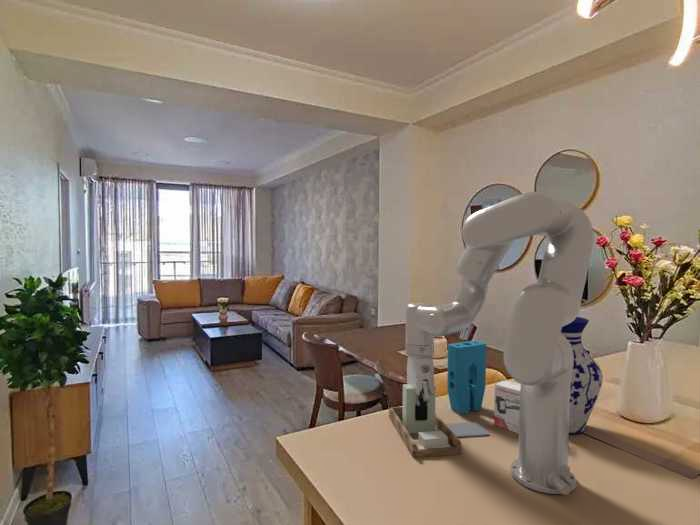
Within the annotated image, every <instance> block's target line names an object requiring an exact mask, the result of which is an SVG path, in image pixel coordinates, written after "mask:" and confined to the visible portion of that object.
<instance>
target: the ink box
mask: <svg viewBox="0 0 700 525" xmlns="http://www.w3.org/2000/svg"><path fill="white" fill-rule="evenodd" d="M520 388H521V383H518V382H512V381H509V380H508V381H507V380H500V381H499V382H497V383H494V411H493V415H494V416H493V418H494V420H493V425H494V426H496V427H499V428H501V429H505V430H507V431H511V432H513V433H515V434H519V411H520Z"/></svg>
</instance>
